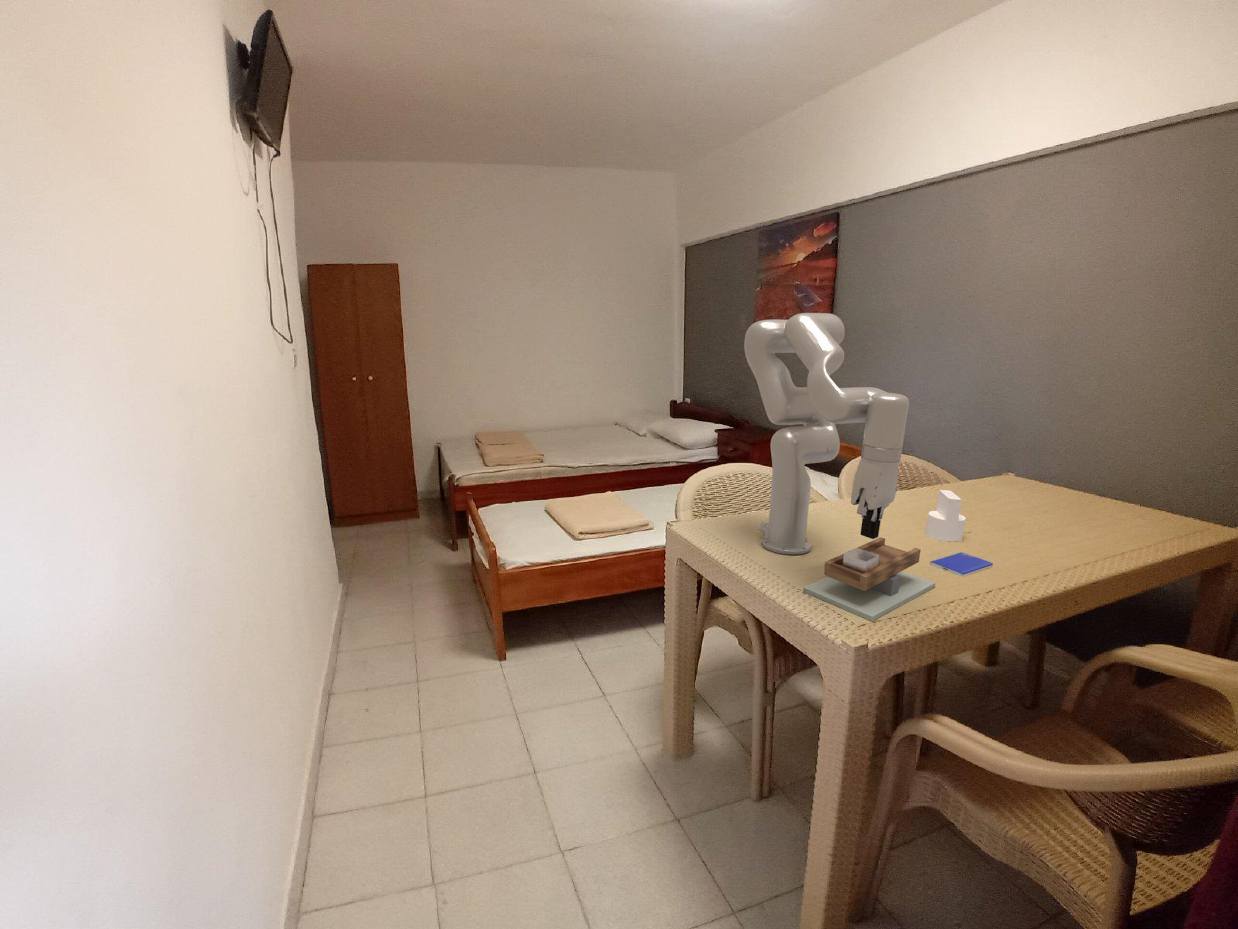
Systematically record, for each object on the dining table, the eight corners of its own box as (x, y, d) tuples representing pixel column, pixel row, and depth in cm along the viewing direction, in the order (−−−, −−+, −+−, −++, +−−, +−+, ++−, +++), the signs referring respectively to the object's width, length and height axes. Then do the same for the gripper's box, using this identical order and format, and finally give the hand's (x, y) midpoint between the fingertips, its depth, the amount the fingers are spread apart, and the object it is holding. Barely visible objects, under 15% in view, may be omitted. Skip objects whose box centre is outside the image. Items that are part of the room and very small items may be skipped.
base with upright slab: (967, 543, 158) (974, 500, 155) (931, 540, 160) (937, 498, 157) (955, 532, 166) (962, 491, 164) (921, 529, 168) (927, 489, 165)
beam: (879, 549, 139) (880, 537, 138) (918, 562, 132) (920, 549, 131) (823, 575, 126) (824, 562, 125) (864, 591, 119) (866, 577, 118)
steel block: (842, 571, 124) (843, 554, 123) (855, 565, 127) (856, 547, 126) (864, 579, 120) (866, 561, 119) (877, 572, 123) (879, 555, 122)
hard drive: (960, 551, 150) (929, 560, 144) (993, 562, 143) (962, 572, 137) (959, 557, 150) (928, 566, 144) (992, 568, 143) (961, 579, 137)
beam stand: (868, 563, 144) (870, 545, 143) (934, 587, 131) (937, 567, 130) (803, 591, 128) (805, 571, 127) (872, 621, 116) (874, 599, 115)
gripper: (883, 445, 129) (871, 524, 134) (844, 454, 120) (833, 538, 125) (917, 452, 123) (903, 534, 128) (879, 462, 114) (866, 550, 119)
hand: (869, 536), depth 126 cm, fingers closed
